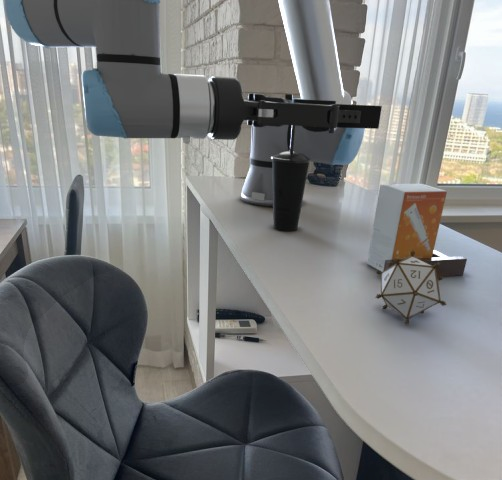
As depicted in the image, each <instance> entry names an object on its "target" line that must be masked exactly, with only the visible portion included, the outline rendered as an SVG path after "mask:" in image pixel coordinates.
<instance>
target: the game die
mask: <svg viewBox="0 0 502 480" xmlns="http://www.w3.org/2000/svg"><path fill="white" fill-rule="evenodd" d="M414 255H415V252H414V250H412V251H411V256H410V257H408V258H406V259H404V260H402V261H400V262H399V260H398V259H396V258H395V260H394V262H395V263H396V264H395V265H393V266H391V267H390V268H388V269H386V270H385V271H383V272H381V271H380V270H378V269H375V273H376V274H377V275H380V293H378V294H376V296H374V298H375V299H380V298H382V300H383V302H384V305H383V306H382V310H387V309H388V308H389V309H390V310H392V311H393V312H395V313H396V314H398V315H400V316H401V317H403V318H404V324H405V326H406V327H407V326H408V325H409V324H410V320H409V319H411V318H413V317H415V316H417V315H419V314H424V313H425V311H426V310H429V309H430V308H432V307H434V306H437V305H439V304H440V305H441V306H447V302H446V301H444V300H442V299H441V293H440V286H439V284H440V283H439V281H442V280H443V278H444V277H442V276H438V277H437V272H436V267H438V266H440V262H439V263H437V262H436V264H435V265H434V266H433V265H431V264H428V263H426V262H424V261H422V260H420V259H418V258H416V257H414Z"/></svg>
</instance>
